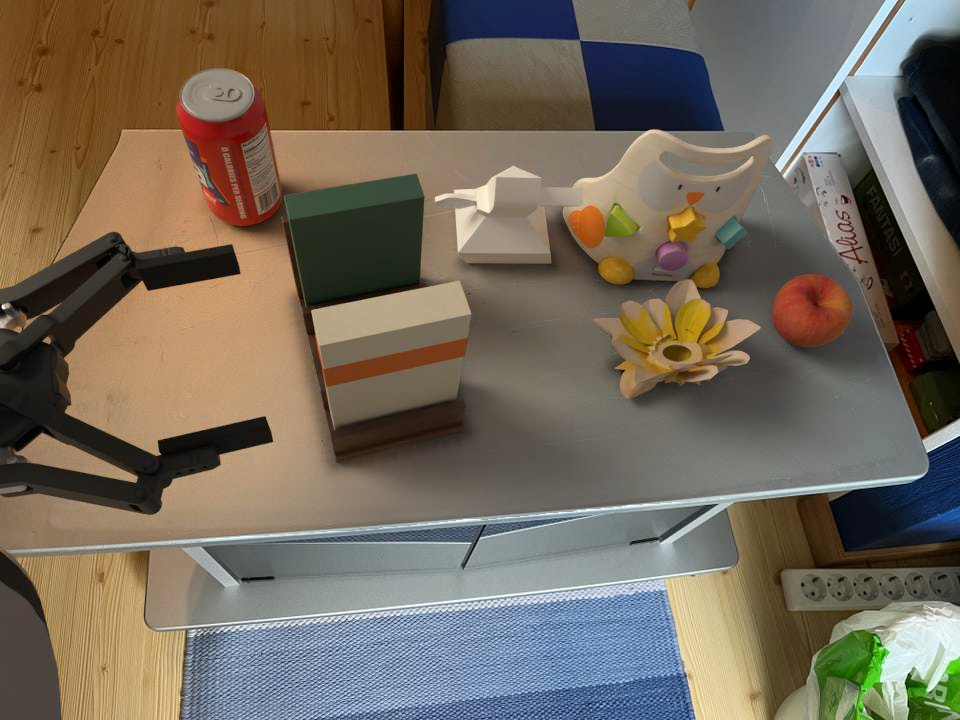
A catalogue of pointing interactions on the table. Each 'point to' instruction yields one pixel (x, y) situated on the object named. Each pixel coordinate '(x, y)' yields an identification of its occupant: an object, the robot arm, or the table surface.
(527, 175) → the white angular piece
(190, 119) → the soda can
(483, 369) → the table surface
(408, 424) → the book rack
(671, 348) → the decorative flower
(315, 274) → the green book
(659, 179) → the shape sorter
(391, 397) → the book
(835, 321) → the apple
